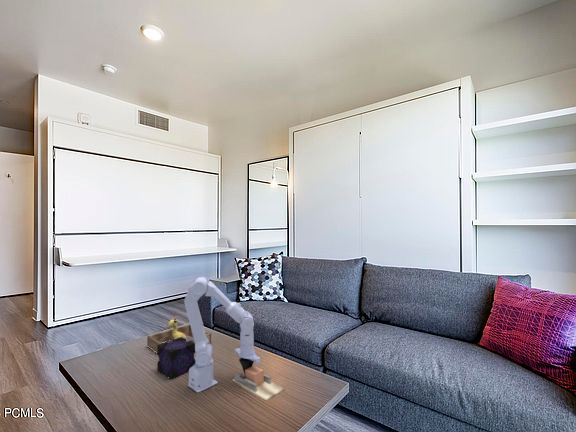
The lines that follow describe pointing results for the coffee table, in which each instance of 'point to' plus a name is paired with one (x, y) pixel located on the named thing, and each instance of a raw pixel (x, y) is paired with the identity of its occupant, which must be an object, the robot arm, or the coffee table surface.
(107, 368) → the coffee table surface
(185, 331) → the display tray
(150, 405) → the coffee table surface
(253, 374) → the block
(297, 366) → the coffee table surface
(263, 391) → the chute
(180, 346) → the energy cube
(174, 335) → the stuffed giraffe
